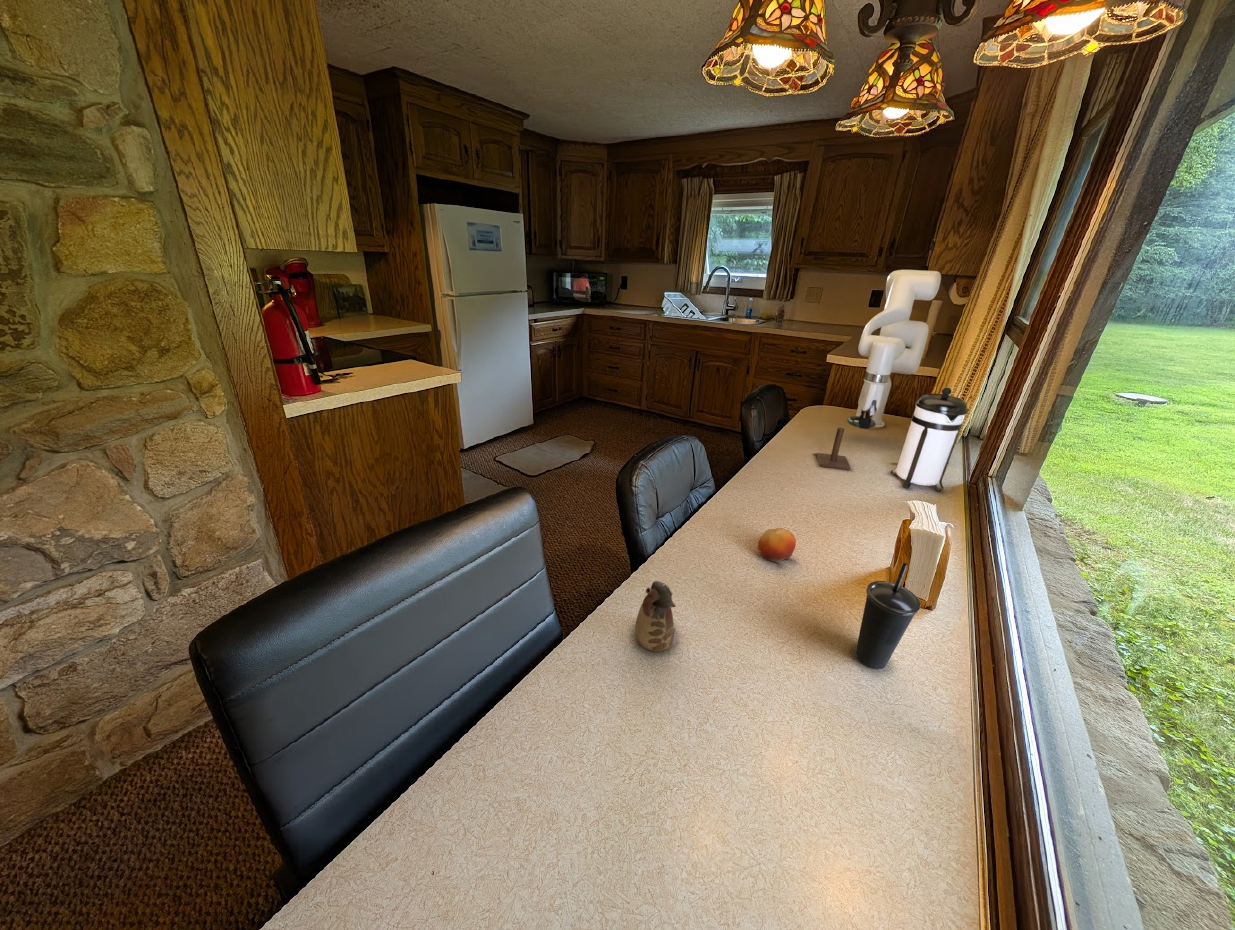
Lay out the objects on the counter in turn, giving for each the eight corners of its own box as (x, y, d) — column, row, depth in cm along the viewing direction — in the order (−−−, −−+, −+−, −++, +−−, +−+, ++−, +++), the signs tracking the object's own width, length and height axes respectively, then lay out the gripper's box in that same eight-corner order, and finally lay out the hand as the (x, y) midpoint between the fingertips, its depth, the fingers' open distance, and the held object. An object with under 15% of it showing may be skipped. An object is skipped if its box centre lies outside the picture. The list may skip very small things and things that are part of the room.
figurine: (682, 643, 81) (688, 589, 76) (648, 658, 78) (653, 603, 73) (659, 617, 87) (664, 565, 82) (627, 630, 84) (630, 577, 79)
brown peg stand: (816, 455, 159) (824, 422, 153) (844, 459, 157) (853, 425, 151) (819, 466, 151) (828, 431, 145) (849, 470, 149) (858, 435, 143)
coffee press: (954, 485, 141) (991, 390, 128) (928, 498, 133) (964, 398, 120) (898, 464, 154) (926, 376, 141) (871, 474, 146) (898, 382, 133)
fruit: (785, 569, 99) (775, 533, 99) (757, 568, 105) (748, 534, 106) (808, 557, 103) (799, 523, 103) (780, 557, 110) (771, 524, 110)
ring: (845, 418, 175) (846, 414, 175) (871, 421, 173) (872, 417, 173) (849, 427, 168) (851, 422, 167) (877, 429, 165) (878, 425, 165)
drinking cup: (901, 658, 80) (939, 565, 71) (886, 684, 75) (925, 587, 66) (856, 634, 84) (886, 543, 76) (839, 656, 80) (870, 563, 71)
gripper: (860, 370, 167) (848, 418, 175) (869, 382, 153) (856, 433, 161) (883, 372, 165) (869, 420, 173) (894, 384, 151) (879, 436, 160)
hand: (863, 426), depth 167 cm, fingers closed on ring, 2 cm apart
